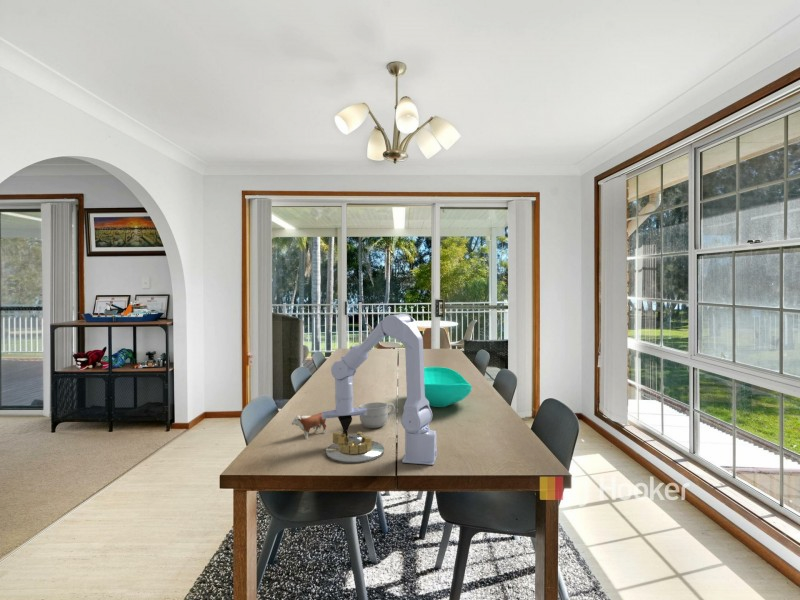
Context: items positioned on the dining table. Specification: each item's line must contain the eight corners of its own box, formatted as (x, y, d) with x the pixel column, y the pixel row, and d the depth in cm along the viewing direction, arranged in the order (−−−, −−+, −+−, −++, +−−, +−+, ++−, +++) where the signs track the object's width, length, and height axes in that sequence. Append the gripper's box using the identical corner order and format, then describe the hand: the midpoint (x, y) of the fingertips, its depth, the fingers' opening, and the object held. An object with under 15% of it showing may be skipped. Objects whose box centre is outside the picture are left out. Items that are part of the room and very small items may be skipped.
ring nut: (357, 437, 154) (357, 426, 154) (377, 449, 143) (377, 438, 142) (328, 442, 149) (328, 432, 149) (347, 456, 137) (347, 445, 137)
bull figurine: (289, 439, 157) (289, 415, 157) (322, 430, 166) (322, 407, 166) (296, 442, 154) (296, 418, 153) (329, 433, 163) (329, 410, 163)
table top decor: (480, 417, 181) (480, 384, 180) (410, 419, 180) (410, 385, 179) (462, 393, 221) (462, 366, 220) (404, 394, 219) (404, 367, 219)
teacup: (361, 431, 165) (361, 409, 164) (356, 422, 175) (356, 402, 175) (399, 428, 168) (399, 406, 168) (392, 419, 179) (392, 399, 178)
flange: (389, 444, 151) (389, 429, 151) (375, 465, 134) (375, 449, 133) (337, 440, 155) (337, 426, 155) (317, 460, 137) (317, 444, 137)
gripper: (363, 392, 155) (364, 432, 156) (320, 396, 152) (321, 437, 152) (367, 397, 149) (368, 439, 149) (322, 401, 145) (323, 444, 145)
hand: (345, 438), depth 150 cm, fingers closed, pressing on ring nut
